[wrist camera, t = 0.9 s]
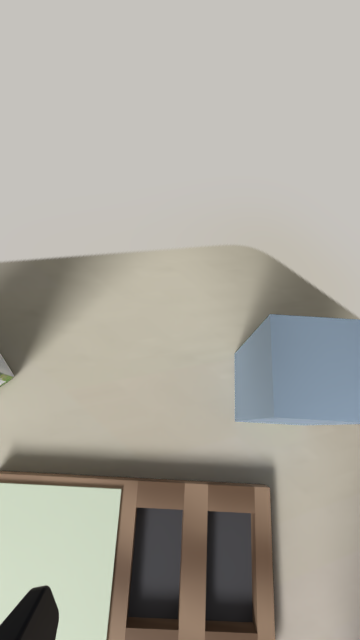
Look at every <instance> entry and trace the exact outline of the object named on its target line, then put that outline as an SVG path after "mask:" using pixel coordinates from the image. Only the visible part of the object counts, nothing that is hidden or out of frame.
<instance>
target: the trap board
mask: <svg viewBox="0 0 360 640" xmlns="http://www.w3.org/2000/svg"><path fill="white" fill-rule="evenodd" d="M45 585H48V586H49V587H50V588H51V591H52V594H53V596H54V599H55V602H56V604H57V607H58V610H59V622H58V628H57V634H56V639H55V640H275V620H274V591H273V562H272V534H271V505H270V487H268V486H266V485H263V484H244V483H225V482H205V481H186V480H167V479H148V478H128V477H109V476H90V475H71V474H51V473H32V472H13V471H0V625H1V623H2V622H3V621H4V620H5V619H6V617H7V616H8V615H9V614H10V613H11V612H12V610H13V609H14V608H15V607H16V606H17V604H18V603H19V602H20V601H21V600H22V598H23V597H24V596H25V595H26V594H27V593H28V591H29V590H31V589H32V588H34V587H39V586H45Z"/></svg>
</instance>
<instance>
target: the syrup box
mask: <svg viewBox="0 0 360 640" xmlns="http://www.w3.org/2000/svg"><path fill="white" fill-rule="evenodd" d="M13 377H14V375H13V373H12V371H11V370H10V368H9V366H8V365H7V363H6V362H5V360H4V358H3V357H2V355H1V353H0V386H2V385H3V384H5V383H7V382H8V381H9V380H11V379H12V378H13Z"/></svg>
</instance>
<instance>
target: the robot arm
mask: <svg viewBox="0 0 360 640" xmlns="http://www.w3.org/2000/svg"><path fill="white" fill-rule="evenodd" d="M58 622H59V610H58V607H57V604H56V602H55V599H54V596H53V594H52V591H51V588H50V587H49V586H48V585H45V586H39V587H34V588H32V589H31V590H29V591H28V593H27V594H26V595H25V596H24V597H23V598H22V600H21V601H20V602H19V603H18V604H17V606H16V607H15V608H14V609H13V610H12V612H11V613H10V614H9V615H8V616H7V617H6V619H5V620H4V621H3V622H2V623H1V625H0V640H55V639H56V634H57V628H58Z"/></svg>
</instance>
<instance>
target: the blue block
mask: <svg viewBox="0 0 360 640" xmlns="http://www.w3.org/2000/svg"><path fill="white" fill-rule="evenodd" d="M235 421H236V422H254V423H272V424H290V425H337V424H360V320H356V319H340V318H324V317H307V316H291V315H275V314H270V315H269V316H268V317H267V318H266V319H265V320H264V321H263V323H262V324H261V325H260V326H259V327H258V328H257V329H256V330H255V332H254V333H253V334H252V335H251V336H250V337H249V338H248V339H247V340H246V342H245V343H244V344H243V345H242V346H241V347H240V348H239V349H238V351H237V352H236V353H235Z"/></svg>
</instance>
